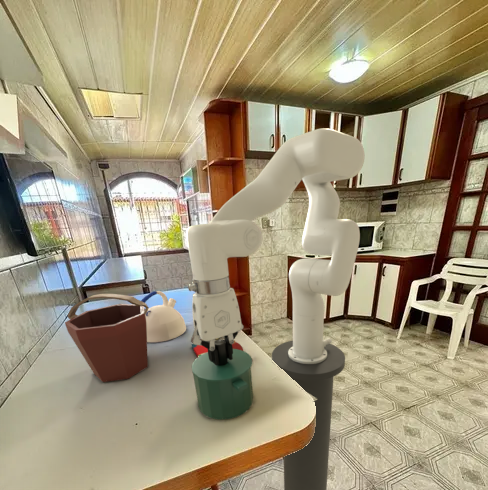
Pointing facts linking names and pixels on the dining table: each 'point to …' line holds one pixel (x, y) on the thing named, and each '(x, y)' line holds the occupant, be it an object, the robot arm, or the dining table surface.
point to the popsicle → (199, 349)
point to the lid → (222, 364)
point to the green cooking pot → (224, 396)
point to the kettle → (163, 320)
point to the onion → (237, 346)
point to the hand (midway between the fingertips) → (221, 359)
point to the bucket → (111, 337)
